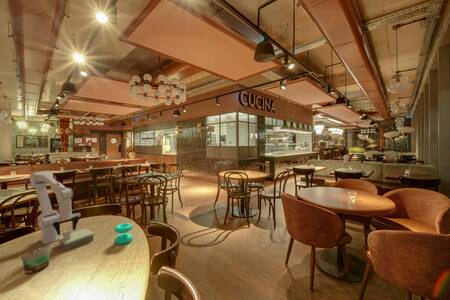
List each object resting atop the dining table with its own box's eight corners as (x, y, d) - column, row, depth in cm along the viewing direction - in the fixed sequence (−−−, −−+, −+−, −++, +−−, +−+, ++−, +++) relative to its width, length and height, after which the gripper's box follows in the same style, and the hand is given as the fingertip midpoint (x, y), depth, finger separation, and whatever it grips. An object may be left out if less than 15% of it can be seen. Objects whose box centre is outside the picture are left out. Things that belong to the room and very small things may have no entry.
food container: (31, 278, 95) (30, 257, 94) (21, 276, 96) (20, 255, 95) (58, 262, 107) (57, 243, 106) (48, 260, 108) (47, 242, 107)
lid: (57, 240, 124) (57, 231, 123) (85, 231, 136) (85, 222, 136) (66, 246, 117) (65, 236, 117) (94, 235, 130) (94, 226, 129)
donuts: (110, 227, 125) (123, 221, 134) (111, 243, 125) (124, 236, 135) (123, 230, 122) (135, 223, 131) (123, 246, 122) (136, 238, 132)
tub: (59, 244, 124) (59, 239, 124) (85, 235, 136) (85, 230, 136) (66, 250, 118) (66, 244, 118) (93, 240, 130) (93, 234, 130)
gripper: (52, 214, 113) (53, 238, 114) (82, 207, 125) (83, 229, 126) (48, 212, 117) (49, 235, 118) (77, 205, 129) (78, 226, 130)
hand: (66, 231), depth 122 cm, fingers open, 7 cm apart
